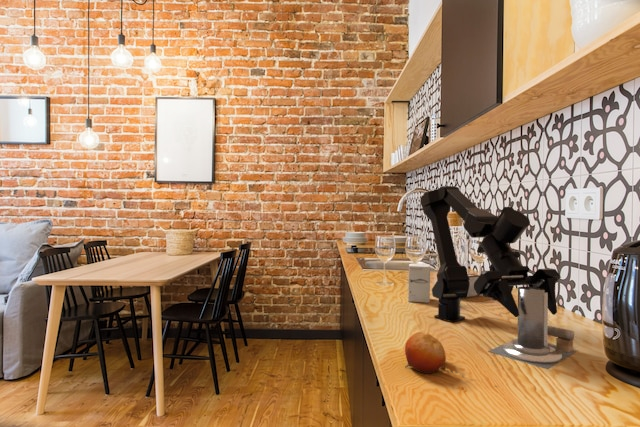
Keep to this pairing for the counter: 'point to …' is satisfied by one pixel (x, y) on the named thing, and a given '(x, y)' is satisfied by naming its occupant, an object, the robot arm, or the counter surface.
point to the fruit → (424, 353)
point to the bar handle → (562, 338)
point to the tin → (472, 285)
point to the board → (500, 352)
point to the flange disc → (551, 358)
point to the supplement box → (419, 283)
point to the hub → (532, 322)
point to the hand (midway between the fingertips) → (536, 314)
